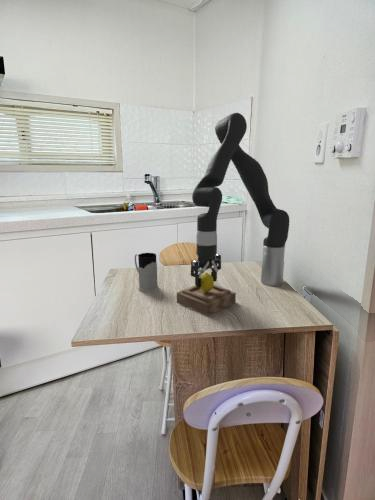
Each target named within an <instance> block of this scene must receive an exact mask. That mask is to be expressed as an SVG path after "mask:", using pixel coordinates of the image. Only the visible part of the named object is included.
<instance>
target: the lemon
mask: <svg viewBox="0 0 375 500" xmlns="http://www.w3.org/2000/svg"><path fill="white" fill-rule="evenodd" d="M214 283H215V282H214V280H213V277H212V276H211V273H208V272H204V273H203V274H202V276H201V287H200V288H201V290H203V291H205V293H207V292H208V291H210V290H211V289H212V288H213V285H215V284H214Z"/></svg>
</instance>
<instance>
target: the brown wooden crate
mask: <svg viewBox="0 0 375 500" xmlns="http://www.w3.org/2000/svg"><path fill="white" fill-rule="evenodd" d="M236 296H237V294H236V292H235V291H231V290H230V289H227V288H224V287H222V286H218V285H217V284H214V285H213V288H212V289H211V290H210V291H208V292H207V293H205V291H203V290H201V288H200V287H197V286H196V285H195V284H194V285H193V286H191V287H187V288H185V289H181V291H178V292H176V303H178V304H179V305H182V306H185V307H187V308H189V309H191V310H193V311H196V312H197V313H200V314H203V315H205V316H210V315H212V314H214V313H216V312H218V311H220V310H223V309H224V308H227V307H229V306H231V305H233V304H235V303H236V300H237V299H236Z"/></svg>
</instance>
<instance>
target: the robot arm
mask: <svg viewBox="0 0 375 500" xmlns="http://www.w3.org/2000/svg"><path fill="white" fill-rule="evenodd" d="M247 128H248V124H247V120H246V118H245V116H244V115H242V114H241V113H239V112H233V113H230V114H229V115H227V116H225V117H224V118H222V119H220V120H218V121H217V122H216V123H215V127H214V130H215V135H216V138H217V140H218V141H219V143H220V144H221V145H220V146H219V147H218V148H217V150H216V151H215V153H214V154H213V155H212V157H211V159H210V161H209V163H208V165H207V168H206V171H205V174H204V175H203V176H202V178H201V179H200V181H199V182H198V183H197V184H196V186H195V187H194V189H193V190H192V191H193V192H192V196H191V197H192V198H191V199H192V203H193V205H195V207H201V208H203V207H204V208H208V211H207V212H204V213H200V214H198V215H197V222H196V223H197V225H196V253H195V254H196V255H197V259H196V260H194V259H193V260H191V261H190V262H191V263H190V276H191V277H193V278H194V280H195V281H194V282H195V284H194V286H195V285H196V286H197V287H201V276H202V275H203V274H205V273H206V272H205V271H208V270H209V269H210V270H211V272H210V275H211V276H212V277H213V280H214V283H215V282H217V278H218V271H219V270H221V269H222V255H221V254H218V233H217V232H218V231H217V230H218V229H217V227H218V224H217V223H218V222H217V221H218V217H219V212H220V208H221V206H222V202H223V192H222V190H221V189H220V188H219V187H220V186H221V185H222V184H223V183H224V179H225V178H226V175H227V171H228V168H229V166H230V163H231V162H232V163H233V166H234V168H235V169H236V171H237V173H238V174H239V178H240V179H241V181H242V183H243V185H244V187H245V188H246V190H247V192H248V194H249V196H250V198H251V199H252V201H253V202H254V206H255V207H256V209H257V212H258V215H259V217H260V220H261V223H262V225H264V227H265V228H267V229H268V232H267V236H266V237H265V238H264V239H263V243H262V245H263V246H262V257H261V259H262V261H261V275H260V276H261V278H260V282H261V284H263V285H265V286H269V287H270V286H271V287H274V286H276V287H278V286H280V285H282V284H283V281H284V268H285V251H286V249H285V248H286V243H287V241H288V237H289V229H290V216H289V214H288V212H287V211H286V210H284V209H280V208H277V207H276V206H275V204H274V202H273V200H272V198H271V196H270V193H269V192H270V191H269V183H268V182H269V181H268V178H267V175H266V173H265V171H264V169H263V167H262V166H261V164H260V163H259V161H258V160H257V159H256V158H254V157H252V156H251V155H249V154H248V153H247V152H245V151H244V149H242V147H241V146H240V143H241V142H242V140H243V138H244V137H245V135H246V133H247Z"/></svg>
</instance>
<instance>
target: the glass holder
mask: <svg viewBox="0 0 375 500" xmlns="http://www.w3.org/2000/svg"><path fill="white" fill-rule="evenodd" d="M137 257H138V260H137ZM137 261H138V264H137ZM134 265H135V269H136V270H137V273H138V291H139V292H142V293H154V292H156V291H158V290H159V285H158V263H157V253H153V252H143V253H139V254H138V253H136V254H135V255H134Z"/></svg>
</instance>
